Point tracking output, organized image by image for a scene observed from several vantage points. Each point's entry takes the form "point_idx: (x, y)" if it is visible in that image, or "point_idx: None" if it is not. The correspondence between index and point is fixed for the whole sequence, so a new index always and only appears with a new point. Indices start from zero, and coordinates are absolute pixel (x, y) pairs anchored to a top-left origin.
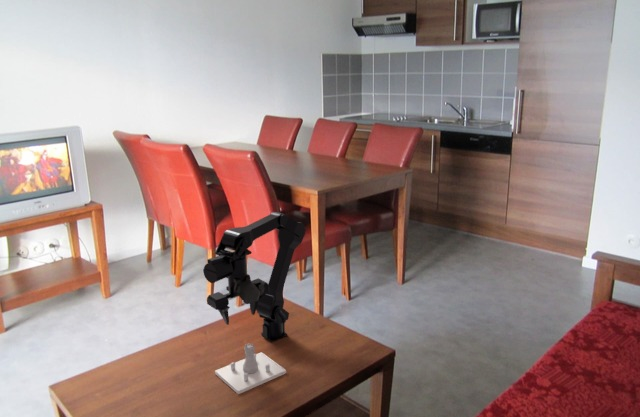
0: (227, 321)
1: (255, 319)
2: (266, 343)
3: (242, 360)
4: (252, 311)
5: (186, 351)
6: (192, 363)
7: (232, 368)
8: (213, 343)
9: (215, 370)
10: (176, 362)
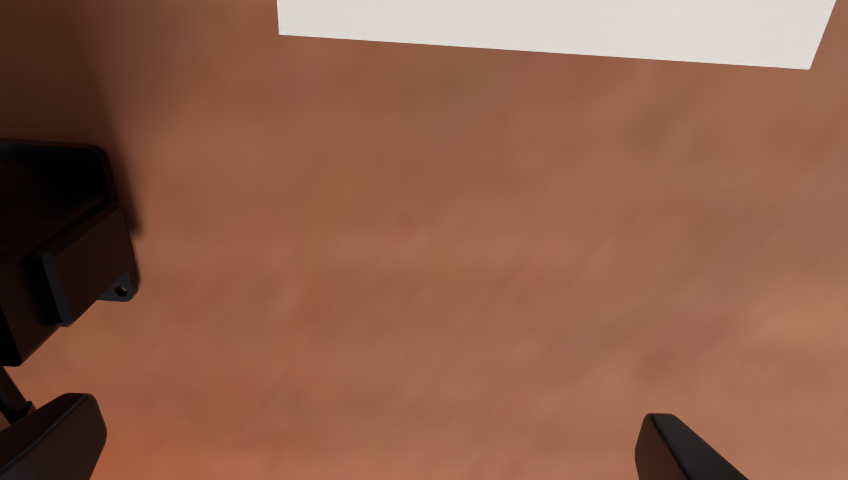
0: (721, 470)
1: None
2: (157, 164)
3: (509, 35)
4: (59, 463)
5: None
6: (764, 309)
7: None
8: (481, 409)
9: (803, 67)
10: (814, 384)
